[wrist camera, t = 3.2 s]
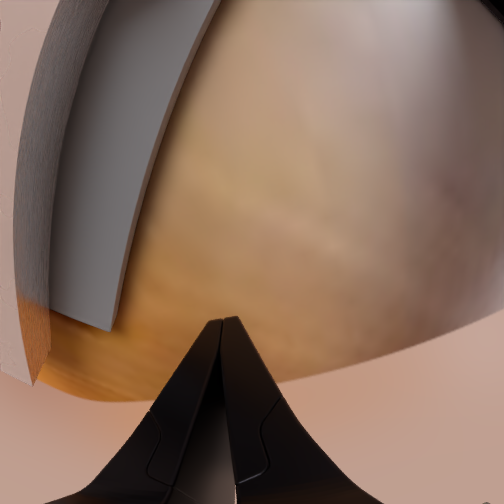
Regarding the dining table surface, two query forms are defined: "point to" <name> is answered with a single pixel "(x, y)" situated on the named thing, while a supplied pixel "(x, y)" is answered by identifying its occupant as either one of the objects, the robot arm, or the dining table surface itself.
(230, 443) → the robot arm
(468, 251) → the dining table surface
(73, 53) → the lever
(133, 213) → the base plate
